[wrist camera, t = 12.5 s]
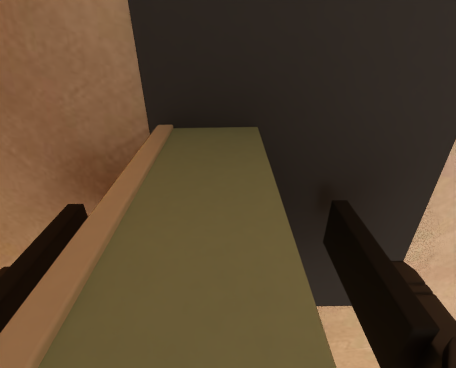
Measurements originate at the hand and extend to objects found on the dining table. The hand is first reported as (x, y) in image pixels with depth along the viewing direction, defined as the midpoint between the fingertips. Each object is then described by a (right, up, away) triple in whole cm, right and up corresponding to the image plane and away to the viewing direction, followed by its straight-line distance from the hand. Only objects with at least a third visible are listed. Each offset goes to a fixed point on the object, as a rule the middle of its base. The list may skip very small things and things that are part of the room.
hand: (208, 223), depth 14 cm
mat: (+5, +1, +2) cm, 6 cm away
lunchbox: (0, +1, +2) cm, 2 cm away
